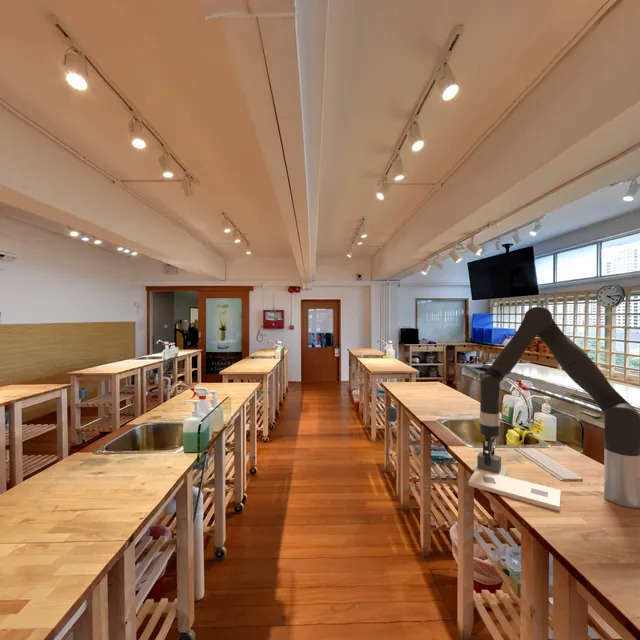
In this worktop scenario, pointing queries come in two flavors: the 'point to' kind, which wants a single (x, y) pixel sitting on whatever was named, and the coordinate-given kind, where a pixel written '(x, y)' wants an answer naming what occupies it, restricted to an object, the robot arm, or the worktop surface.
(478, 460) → the block
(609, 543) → the worktop surface
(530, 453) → the baseboard
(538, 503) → the board
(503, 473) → the rest mat
